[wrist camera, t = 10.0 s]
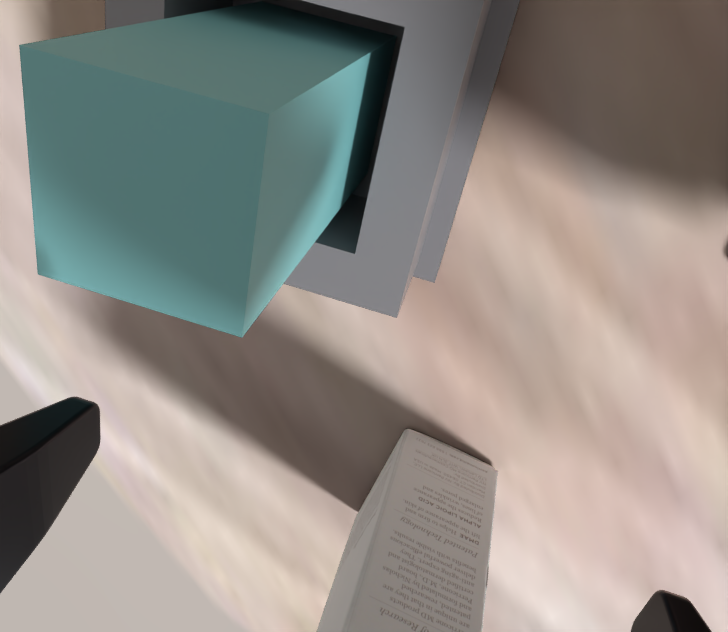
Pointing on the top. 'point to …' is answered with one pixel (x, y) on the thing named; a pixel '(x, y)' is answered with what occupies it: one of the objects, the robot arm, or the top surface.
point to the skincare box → (418, 545)
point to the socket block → (394, 137)
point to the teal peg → (198, 153)
